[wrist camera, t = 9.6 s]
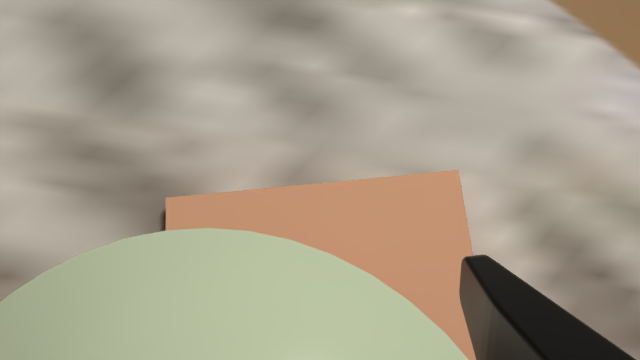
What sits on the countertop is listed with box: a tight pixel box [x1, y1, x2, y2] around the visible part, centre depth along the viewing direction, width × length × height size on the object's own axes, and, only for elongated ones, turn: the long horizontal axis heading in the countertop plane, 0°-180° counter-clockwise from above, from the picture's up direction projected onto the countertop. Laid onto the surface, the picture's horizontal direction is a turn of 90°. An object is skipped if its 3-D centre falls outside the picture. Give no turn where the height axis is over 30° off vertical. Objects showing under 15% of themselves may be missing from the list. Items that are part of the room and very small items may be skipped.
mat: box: [166, 170, 476, 360], centre depth 16 cm, size 11×11×1 cm
